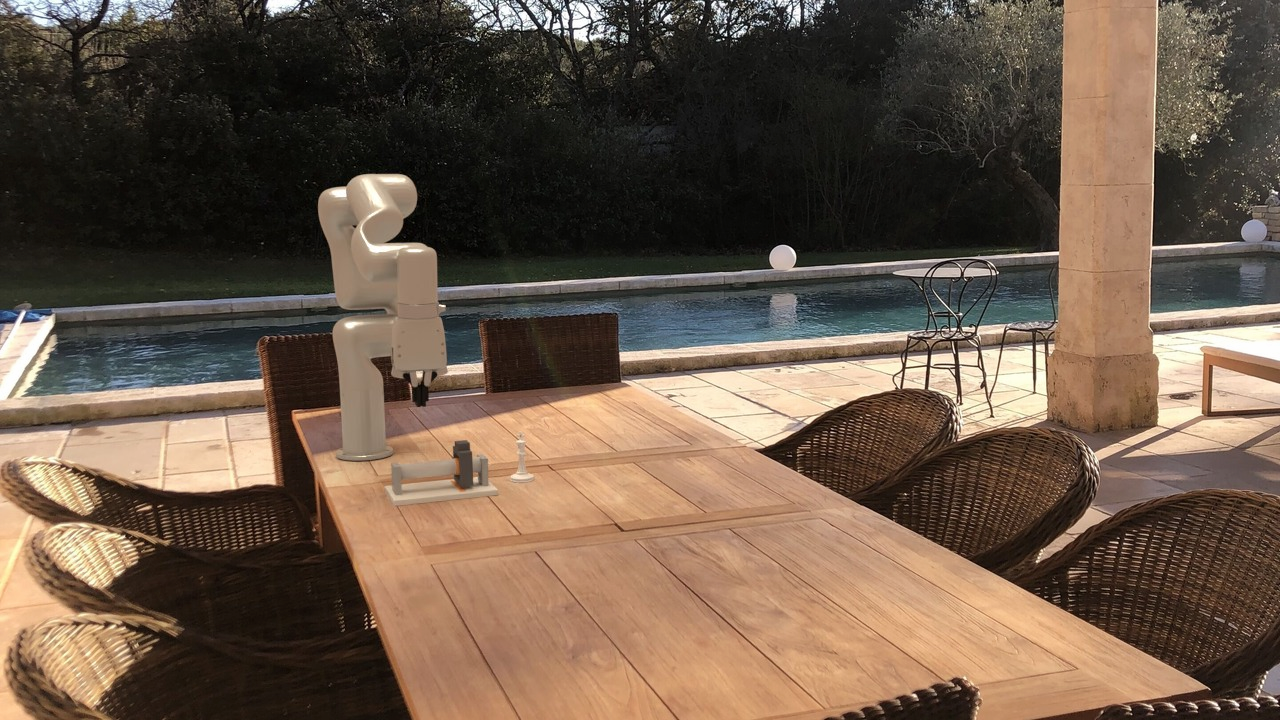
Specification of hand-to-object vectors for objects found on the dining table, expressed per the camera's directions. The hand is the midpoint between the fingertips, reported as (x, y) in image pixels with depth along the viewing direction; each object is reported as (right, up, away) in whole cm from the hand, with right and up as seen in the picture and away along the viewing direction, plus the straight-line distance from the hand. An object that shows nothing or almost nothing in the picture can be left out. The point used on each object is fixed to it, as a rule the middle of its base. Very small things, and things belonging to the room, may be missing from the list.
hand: (420, 405), depth 218 cm
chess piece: (+18, -16, +13) cm, 27 cm away
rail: (+4, -17, +3) cm, 18 cm away
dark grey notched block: (+8, -15, +4) cm, 18 cm away
